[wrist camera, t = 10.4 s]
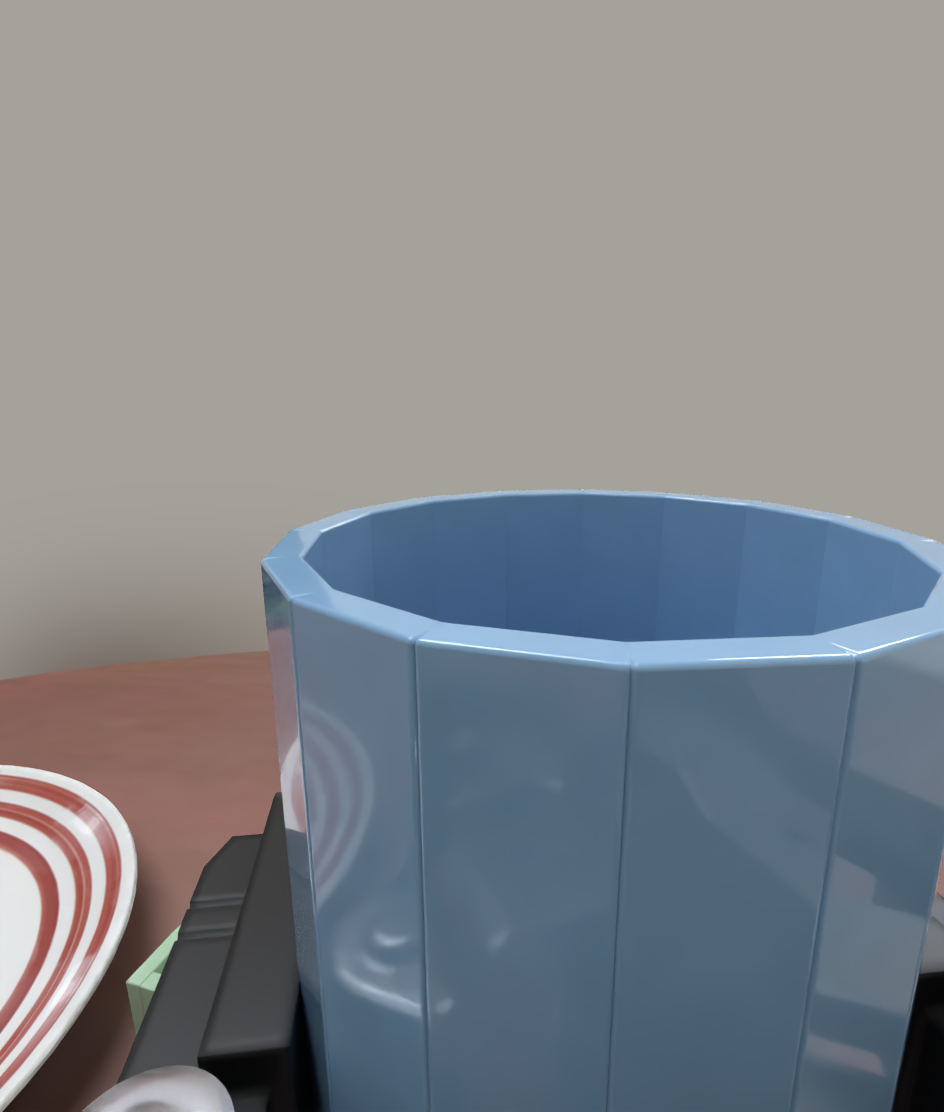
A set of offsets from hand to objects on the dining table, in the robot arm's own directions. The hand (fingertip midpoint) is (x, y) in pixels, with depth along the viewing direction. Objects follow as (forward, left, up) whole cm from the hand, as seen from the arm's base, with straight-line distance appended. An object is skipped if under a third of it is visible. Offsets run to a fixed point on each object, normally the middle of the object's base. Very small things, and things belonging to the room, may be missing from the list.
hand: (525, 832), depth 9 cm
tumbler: (+1, -2, -7) cm, 8 cm away
